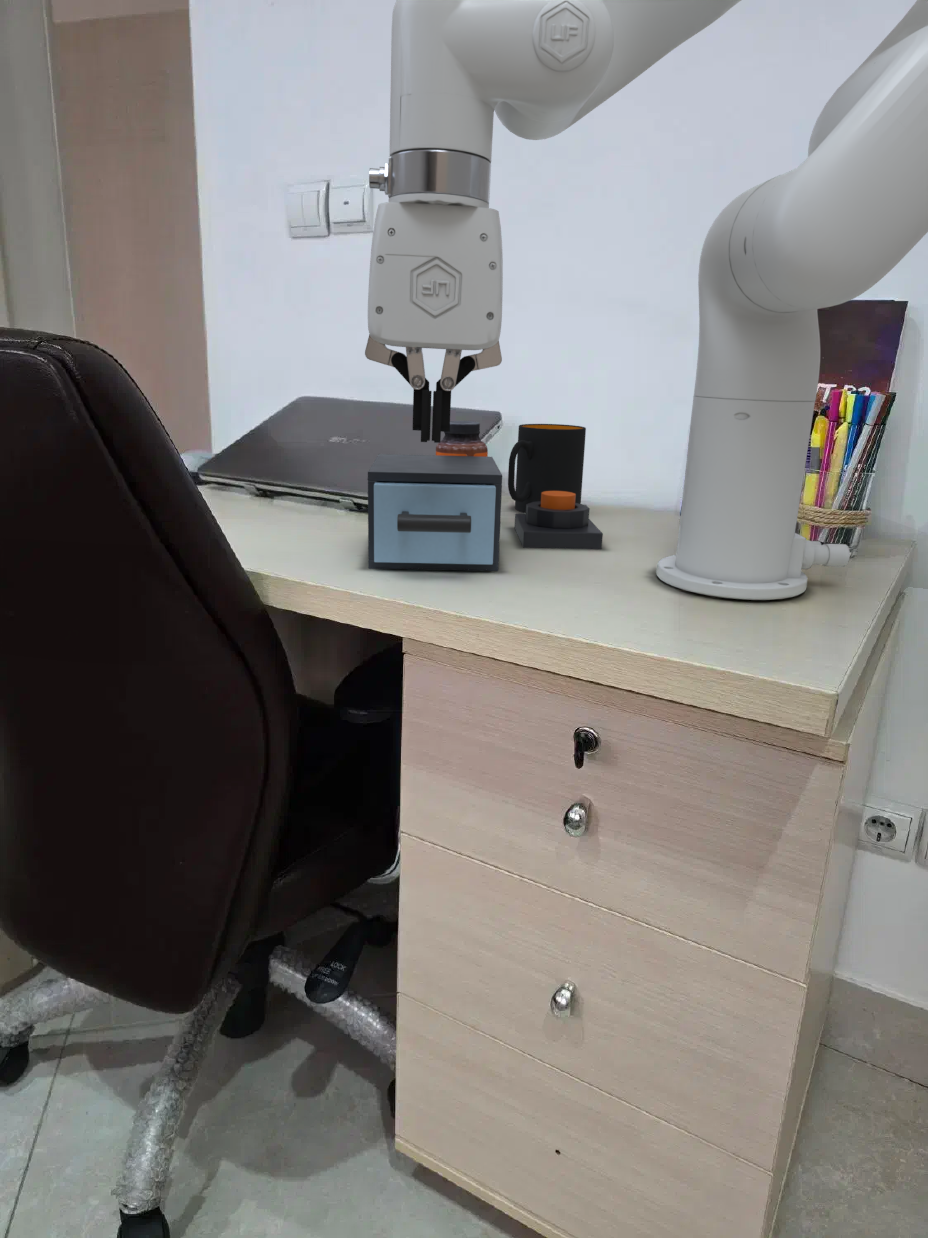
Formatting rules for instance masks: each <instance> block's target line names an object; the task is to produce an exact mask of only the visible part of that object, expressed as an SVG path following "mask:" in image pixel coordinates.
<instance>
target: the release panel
mask: <svg viewBox="0 0 928 1238" xmlns="http://www.w3.org/2000/svg"><path fill="white" fill-rule="evenodd" d="M514 530H515V532H516V535H517V537H518V539H519V542H520V544H521V546H522V548H524V549H563V550H566V549H567V550H568V549H569V550H602V549H603V538H604V537H603V536H604V535H603V534H604V533H603V532H602V531H601V529H599V528H598V526H596V525H595V523H593V521H592V520H591V519H590V506H589V505H587V504H583V503H581V504H579V503H575V509H568V510H558V509H547V508H542V507H541V501H538V502H532V503H529V504H526V513H515V514H514Z"/></svg>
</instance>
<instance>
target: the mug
mask: <svg viewBox="0 0 928 1238" xmlns="http://www.w3.org/2000/svg"><path fill="white" fill-rule="evenodd" d="M517 433H518V434H517V442H515V444H514V445H513V447H512V449H511V450H510V454H509V458H508V472H507V473H508V474H507V488H508V493H509V496H510V498H511V499H512V500H513V501H514V508H515V510H516V511H517V512H520V513H522V514H526V504H529V503H532V502H538V501H541V493H542V492H544V491H566V492H572V493H575V494H576V498H575V503H579V504H582V490H583V477H584V463H585V462H584V461H585V451H586V450H585V449H586V436H587V435H586V433H587V427H585V426H581V425H575V424H562V423H561V424H560V423H559V424H557V423H524V424H523V423H522V424H519V425H518V432H517ZM515 470H516V471H515ZM515 472H516V473H515ZM515 474H516V475H515ZM515 477H516V478H515Z"/></svg>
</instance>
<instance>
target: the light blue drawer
mask: <svg viewBox="0 0 928 1238" xmlns="http://www.w3.org/2000/svg"><path fill="white" fill-rule="evenodd" d="M495 497H496V487H495V485H486V484H475V483H434V482H392V481H385V482H384V483H376V482H375V484H374V562H390V563H439V564H488V565H492V564H493V547H494V522H495Z"/></svg>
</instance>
